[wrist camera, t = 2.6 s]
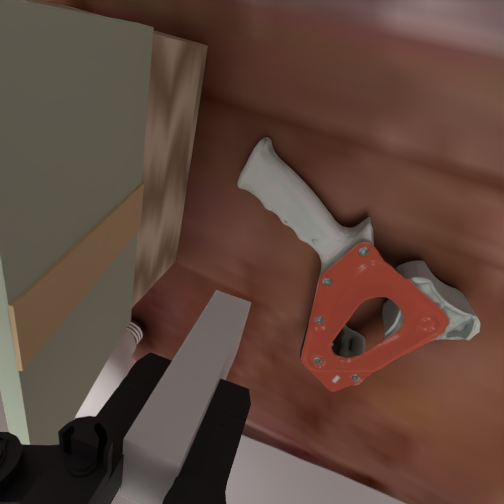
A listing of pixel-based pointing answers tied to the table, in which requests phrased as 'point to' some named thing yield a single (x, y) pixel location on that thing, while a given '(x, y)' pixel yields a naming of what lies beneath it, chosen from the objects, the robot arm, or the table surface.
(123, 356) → the light bulb
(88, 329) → the lid
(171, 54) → the box
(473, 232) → the table surface
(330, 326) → the tape dispenser
